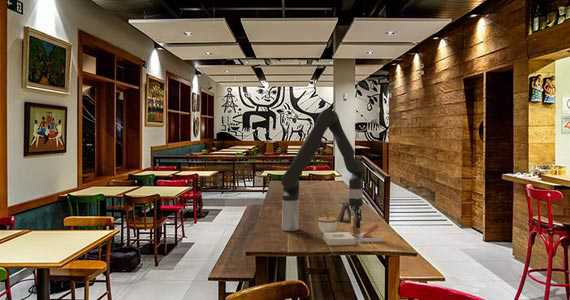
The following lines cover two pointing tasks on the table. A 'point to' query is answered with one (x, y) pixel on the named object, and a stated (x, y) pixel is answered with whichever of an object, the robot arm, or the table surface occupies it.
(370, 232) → the latch lever
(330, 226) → the lidded jar
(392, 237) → the table surface
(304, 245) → the table surface
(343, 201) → the phone stand
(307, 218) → the table surface
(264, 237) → the table surface
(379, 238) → the lever bracket
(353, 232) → the peg
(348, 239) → the socket block
